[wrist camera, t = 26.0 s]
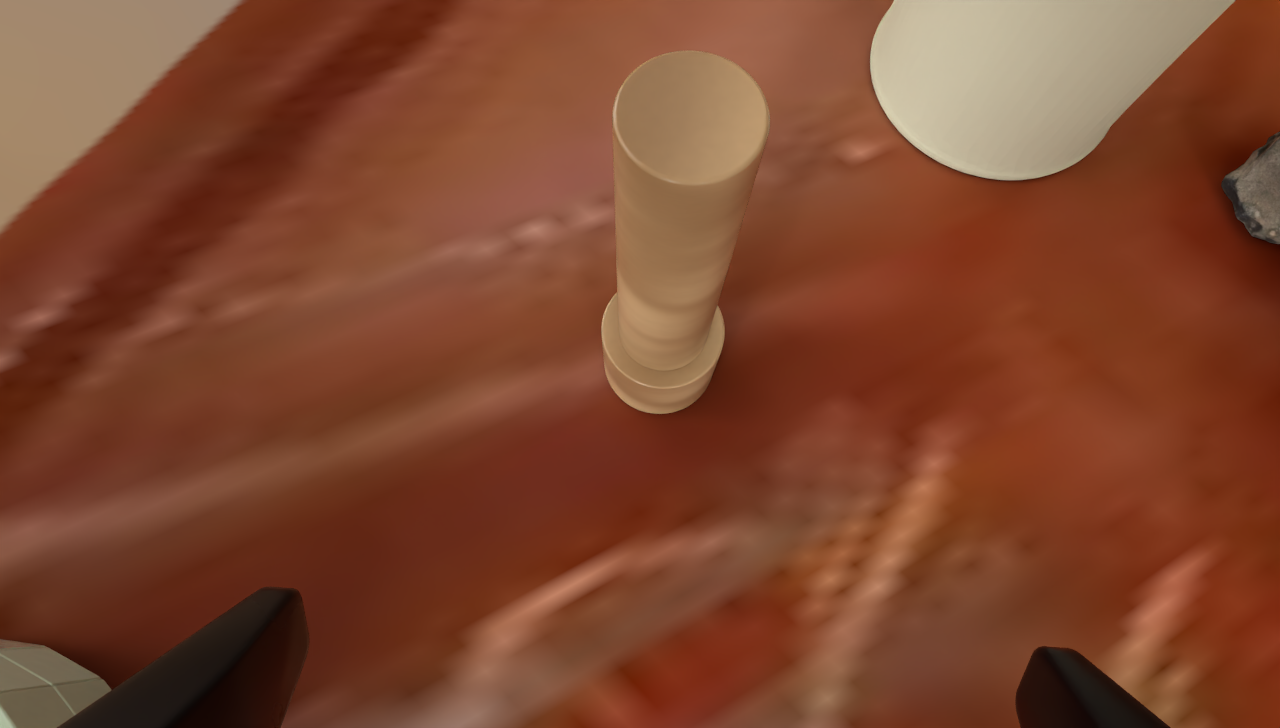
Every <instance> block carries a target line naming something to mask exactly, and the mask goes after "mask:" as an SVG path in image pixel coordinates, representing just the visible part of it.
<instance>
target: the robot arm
mask: <svg viewBox="0 0 1280 728" xmlns="http://www.w3.org/2000/svg"><path fill="white" fill-rule="evenodd" d="M308 648H309V633H308V627H307V622H306V617H305V612H304V606H303V601H302V597H301V594H300V593H299V591H298V590H296V589H293V588H281V587H264V588H261V589H259V590H257V591H256V592H254V593H253V594H251V595H250V596H248V597H247V598H246V599H244V600H243V601H241V602H240V603H238V604H237V605H235V606H234V607H232V608H231V609H229V610H228V611H227V612H225V613H224V614H222V615H221V616H219V617H218V618H216V619H215V620H213V621H212V622H210V623H209V624H208V625H206V626H205V627H203V628H202V629H200V630H199V631H197V632H196V633H194V634H193V635H191V636H190V637H189V638H187V639H186V640H184V641H183V642H181V643H180V644H178V645H177V646H175V647H174V648H172V649H171V650H170V651H168V652H167V653H165V654H164V655H162V656H161V657H159V658H158V659H156V660H155V661H153V662H152V663H151V664H149V665H148V666H146V667H145V668H143V669H142V670H140V671H139V672H137V673H136V674H134V675H133V676H132V677H130V678H129V679H127V680H126V681H124V682H123V683H121V684H120V685H118V686H117V687H115V688H114V689H113V690H111V691H110V692H108V693H107V694H105V695H104V696H102V697H101V698H99V699H98V700H96V701H95V702H94V703H92V704H91V705H89V706H88V707H86V708H85V709H83V710H82V711H80V712H79V713H77V714H76V715H74V716H73V717H72V718H70V719H69V720H67V721H66V722H64V723H63V724H61V725H60V726H58V727H57V728H281V725H282V723H283V720H284V717H285V714H286V712H287V709H288V706H289V703H290V701H291V698H292V695H293V692H294V690H295V687H296V684H297V681H298V679H299V676H300V673H301V670H302V668H303V665H304V662H305V659H306V656H307V653H308ZM1016 711H1017V716H1018V719H1019V723H1020V727H1021V728H1170V727H1169V726H1168V725H1167V724H1165V723H1164V722H1163V721H1162V720H1161V719H1159V718H1158V717H1157V716H1156V715H1154V714H1153V713H1152V712H1151V711H1150V710H1148V709H1147V708H1146V707H1145V706H1144V705H1142V704H1141V703H1140V702H1139V701H1137V700H1136V699H1135V698H1134V697H1133V696H1131V695H1130V694H1129V693H1128V692H1126V691H1125V690H1124V689H1123V688H1122V687H1120V686H1119V685H1118V684H1117V683H1115V682H1114V681H1113V680H1112V679H1111V678H1109V677H1108V676H1107V675H1106V674H1104V673H1103V672H1102V671H1101V670H1100V669H1098V668H1097V667H1096V666H1095V665H1093V664H1092V663H1091V662H1090V661H1089V660H1087V659H1086V658H1085V657H1084V656H1082V655H1081V654H1080V653H1078V652H1077V651H1075V650H1073V649H1069V648H1060V647H1047V646H1042V647H1038V648H1037V649H1036V650H1035V651H1034V652H1033V654H1032V656H1031V658H1030V661H1029V663H1028V665H1027V668H1026V670H1025V672H1024V675H1023V677H1022V679H1021V682H1020V684H1019V686H1018V689H1017V692H1016Z"/></svg>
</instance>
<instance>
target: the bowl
mask: <svg viewBox="0 0 1280 728" xmlns="http://www.w3.org/2000/svg"><path fill="white" fill-rule="evenodd" d="M110 691H111V688H110V687H109V686H108V684H107V683H106V682H105V681H104V680H103V679H101V678H100V677H99V676H97V675H96V674H94V673H92V672H90V671H89V670H87V669H85V668H83V667H82V666H80V665H78V664H76V663H75V662H73V661H71V660H69V659H68V658H66V657H64V656H62V655H61V654H59V653H57V652H55V651H53V650H52V649H50V648H48V647H46V646H43V645H37V644H30V643H23V642H16V641H9V640H2V639H0V728H57V727H58V726H60V725H61V724H63V723H64V722H66V721H67V720H69V719H70V718H72V717H73V716H74V715H76V714H77V713H79V712H80V711H82V710H83V709H85V708H86V707H88V706H89V705H91V704H92V703H94V702H95V701H96V700H98V699H99V698H101V697H102V696H104V695H105V694H107V693H108V692H110Z"/></svg>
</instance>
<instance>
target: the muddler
mask: <svg viewBox="0 0 1280 728" xmlns="http://www.w3.org/2000/svg"><path fill="white" fill-rule="evenodd" d="M769 128H770V115H769V108H768V105H767V102H766V99H765V97H764V94H763V92H762V90H761V89H760V87H759V85H758V84H757V82H756V81H755V80H754V79H753V78H752V77H751V75H749V74H748V73H747V72H746V71H745V70H744V69H743V68H741V67H740V66H738V65H737V64H735V63H734V62H732V61H730V60H728V59H726V58H723V57H721V56H718V55H715V54H711V53H707V52H701V51H677V52H670V53H667V54H663V55H660V56H657V57H655V58H652V59H650V60H649V61H647V62H645V63H643V64H642V65H640V66H639V67H638V68H636V69H635V70H634V71H633V72H632V73H631V74H630V75H629V76H628V77H627V79H626V80H625V81H624V82H623V84H622V86H621V87H620V89H619V91H618V93H617V95H616V98H615V101H614V105H613V112H612V129H613V162H614V196H615V229H616V263H617V293H616V294H615V295H614V296H613V298H612V299H611V300H610V302H609V304H608V306H607V307H606V310H605V312H604V315H603V320H602V327H601V333H602V346H603V356H604V367H605V372H606V376H607V379H608V381H609V383H610V385H611V387H612V389H613V390H614V392H615V393H616V394H617V395H618V396H619V397H620V398H621V399H622V400H623V401H624V402H625V403H627V404H628V405H630V406H632V407H634V408H636V409H638V410H641V411H644V412H648V413H654V414H666V413H672V412H676V411H679V410H682V409H684V408H686V407H688V406H689V405H691V404H692V403H694V402H695V401H696V400H697V399H698V398H699V397H700V396H701V395H702V394H703V393H704V391H705V390H706V388H707V387H708V385H709V383H710V381H711V378H712V375H713V373H714V370H715V367H716V364H717V362H718V359H719V356H720V354H721V351H722V348H723V344H724V338H725V328H724V321H723V317H722V314H721V311H720V309H719V307H718V305H717V304H718V301H719V298H720V294H721V291H722V288H723V284H724V281H725V278H726V274H727V271H728V268H729V264H730V261H731V258H732V254H733V251H734V248H735V244H736V241H737V238H738V235H739V231H740V228H741V225H742V221H743V218H744V215H745V211H746V208H747V205H748V201H749V198H750V195H751V191H752V188H753V185H754V181H755V178H756V175H757V171H758V168H759V165H760V161H761V158H762V155H763V151H764V148H765V145H766V141H767V138H768V134H769Z"/></svg>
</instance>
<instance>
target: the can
mask: <svg viewBox="0 0 1280 728" xmlns="http://www.w3.org/2000/svg"><path fill="white" fill-rule="evenodd" d="M1234 1H1235V0H894V2H893V4H892V6H891V7H890V9H889V10H888V11H887V13H886V14H885V15H884V17H883V19H882V20H881V22H880V24H879V26H878V28H877V30H876V33H875V35H874V39H873V42H872V47H871V55H870V71H871V77H872V83H873V86H874V90H875V93H876V95H877V98H878V100H879V102H880V105H881V107H882V108H883V110H884V112H885V113H886V115H887V117H888V118H889V120H890V121H891V122H892V123H893V125H894V126H895V127H896V128H897V130H898V131H899V132H900V133H901V134H902V135H903V136H904V137H905V138H906V139H907V140H908V141H909V142H910V143H912V144H913V145H914V146H915V147H916V148H918V149H919V150H921V151H922V152H923V153H925V154H926V155H928V156H929V157H931V158H933V159H934V160H936V161H938V162H940V163H941V164H944V165H946V166H948V167H950V168H953V169H955V170H958V171H961V172H963V173H966V174H970V175H974V176H978V177H983V178H988V179H996V180H1025V179H1033V178H1039V177H1043V176H1047V175H1050V174H1053V173H1056V172H1059V171H1061V170H1064V169H1066V168H1068V167H1070V166H1072V165H1073V164H1075V163H1077V162H1078V161H1080V160H1081V159H1083V158H1084V157H1085V156H1087V155H1088V154H1089V153H1090V152H1091V151H1092V150H1093V149H1094V148H1095V147H1096V146H1097V145H1098V144H1099V143H1100V142H1101V140H1102V139H1103V138H1104V137H1105V135H1106V133H1107V132H1108V130H1109V128H1110V127H1111V125H1112V124H1113V123H1114V122H1115V121H1116V120H1117V119H1118V118H1119V117H1120V116H1121V115H1122V114H1123V113H1124V112H1125V111H1126V110H1127V109H1128V108H1129V107H1130V105H1131V104H1132V103H1133V102H1134V101H1135V100H1136V99H1137V98H1138V97H1139V96H1140V95H1141V94H1142V93H1143V92H1144V91H1145V90H1146V89H1147V88H1148V87H1149V86H1150V85H1151V84H1152V83H1153V82H1154V81H1155V80H1156V79H1157V78H1158V77H1159V76H1160V75H1161V74H1162V73H1163V72H1164V71H1165V70H1166V69H1167V68H1168V67H1169V66H1170V65H1171V64H1172V63H1173V62H1174V61H1175V60H1176V59H1177V58H1178V57H1179V56H1180V55H1181V54H1182V53H1183V52H1184V51H1185V50H1186V49H1187V48H1188V47H1189V46H1190V45H1191V44H1192V43H1193V42H1194V41H1195V40H1196V39H1197V38H1198V37H1199V36H1200V35H1201V34H1202V33H1203V32H1204V31H1205V30H1206V29H1207V28H1208V27H1209V26H1210V25H1211V24H1212V23H1213V22H1214V21H1215V20H1216V19H1217V18H1218V17H1219V16H1220V15H1221V14H1222V13H1223V12H1224V11H1225V10H1226V9H1227V8H1228V7H1229V6H1230V5H1231V4H1232V3H1233V2H1234Z"/></svg>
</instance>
